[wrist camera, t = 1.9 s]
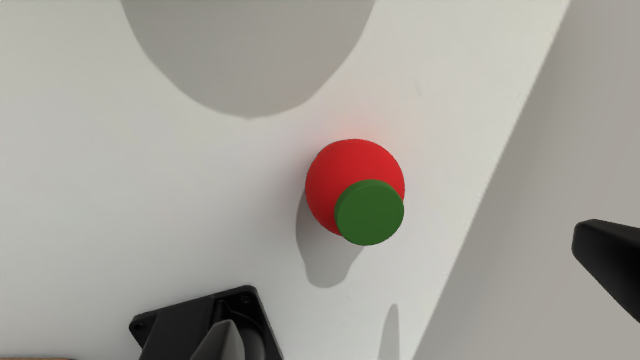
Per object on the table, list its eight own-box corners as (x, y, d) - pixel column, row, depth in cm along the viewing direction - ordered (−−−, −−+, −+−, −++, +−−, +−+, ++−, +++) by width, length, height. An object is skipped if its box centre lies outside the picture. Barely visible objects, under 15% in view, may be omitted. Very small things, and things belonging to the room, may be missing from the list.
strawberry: (389, 196, 16) (430, 248, 12) (311, 217, 15) (326, 277, 11) (379, 118, 14) (422, 147, 10) (291, 141, 14) (299, 179, 10)
